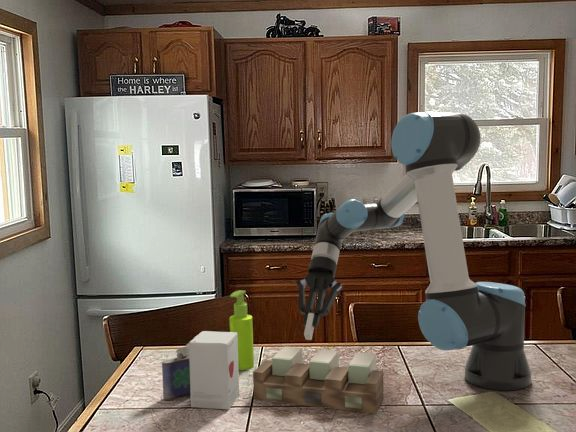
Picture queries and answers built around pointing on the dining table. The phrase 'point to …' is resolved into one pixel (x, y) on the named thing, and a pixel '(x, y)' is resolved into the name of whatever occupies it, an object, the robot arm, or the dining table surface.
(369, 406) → the brown wooden slotted rack
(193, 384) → the supplement box
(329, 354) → the button middle
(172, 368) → the flask
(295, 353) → the button
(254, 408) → the dining table surface
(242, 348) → the soap dispenser
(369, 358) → the button
